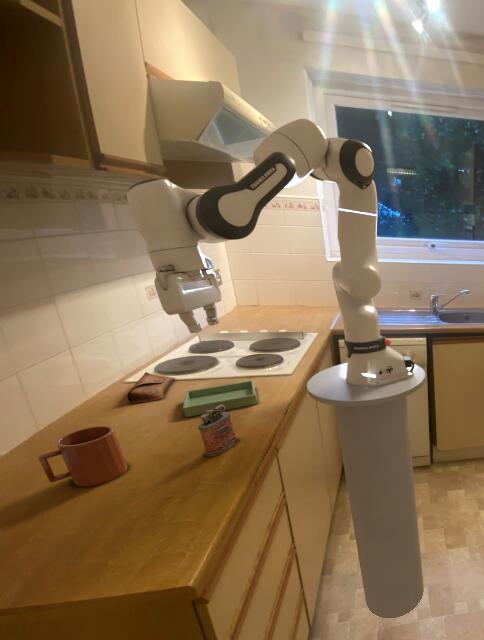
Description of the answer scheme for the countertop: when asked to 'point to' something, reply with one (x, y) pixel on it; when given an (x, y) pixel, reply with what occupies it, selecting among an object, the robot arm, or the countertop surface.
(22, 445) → the countertop surface
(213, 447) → the lighter
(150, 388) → the sunglasses case
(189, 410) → the tray
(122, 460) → the mug
